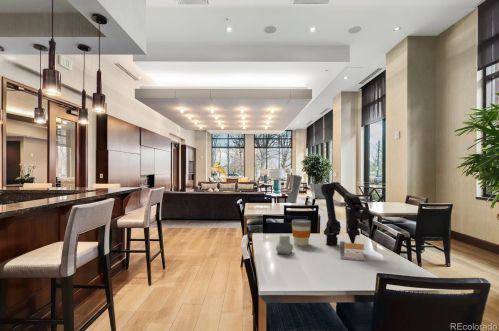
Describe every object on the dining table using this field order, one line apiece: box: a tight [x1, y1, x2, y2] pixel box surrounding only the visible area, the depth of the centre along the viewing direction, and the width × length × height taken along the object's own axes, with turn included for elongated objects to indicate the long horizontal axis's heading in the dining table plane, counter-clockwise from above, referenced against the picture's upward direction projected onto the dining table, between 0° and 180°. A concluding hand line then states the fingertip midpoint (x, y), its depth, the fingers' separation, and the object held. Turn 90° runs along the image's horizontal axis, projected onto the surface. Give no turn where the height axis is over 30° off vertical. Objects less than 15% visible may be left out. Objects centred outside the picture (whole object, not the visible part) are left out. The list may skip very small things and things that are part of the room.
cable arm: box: [339, 240, 365, 251], centre depth 160 cm, size 13×3×4 cm, turn 73°
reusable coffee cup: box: [291, 218, 312, 247], centre depth 184 cm, size 13×13×15 cm
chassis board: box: [339, 247, 366, 262], centre depth 160 cm, size 12×20×3 cm, turn 163°
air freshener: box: [275, 233, 294, 255], centre depth 163 cm, size 11×8×10 cm
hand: (352, 244), depth 164 cm, fingers closed
